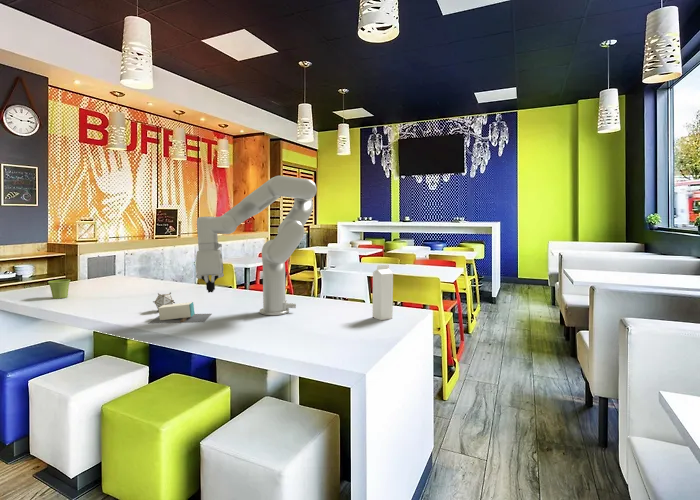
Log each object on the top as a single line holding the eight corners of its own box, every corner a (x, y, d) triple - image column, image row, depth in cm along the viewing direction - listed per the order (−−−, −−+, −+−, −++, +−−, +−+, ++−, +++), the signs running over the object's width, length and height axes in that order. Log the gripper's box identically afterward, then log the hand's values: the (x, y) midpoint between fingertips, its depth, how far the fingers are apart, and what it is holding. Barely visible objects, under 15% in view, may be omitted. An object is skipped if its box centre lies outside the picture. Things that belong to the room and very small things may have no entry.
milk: (392, 318, 163) (393, 265, 162) (380, 320, 160) (381, 266, 158) (383, 315, 169) (384, 263, 167) (371, 317, 165) (372, 264, 163)
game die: (166, 320, 173) (164, 305, 166) (150, 312, 174) (147, 297, 168) (180, 306, 180) (178, 291, 173) (164, 299, 181) (162, 284, 175)
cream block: (193, 302, 163) (162, 305, 162) (189, 304, 158) (158, 307, 157) (194, 313, 163) (164, 317, 162) (191, 316, 158) (160, 320, 157)
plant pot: (44, 299, 196) (43, 282, 195) (56, 296, 206) (55, 279, 205) (64, 299, 197) (63, 282, 196) (75, 295, 206) (74, 279, 206)
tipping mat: (212, 314, 169) (212, 311, 169) (204, 322, 155) (204, 320, 155) (160, 315, 166) (160, 312, 166) (147, 324, 152) (147, 321, 152)
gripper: (228, 245, 165) (231, 289, 167) (191, 247, 163) (194, 291, 165) (225, 247, 158) (228, 292, 159) (186, 248, 156) (189, 294, 157)
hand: (210, 291), depth 162 cm, fingers closed
